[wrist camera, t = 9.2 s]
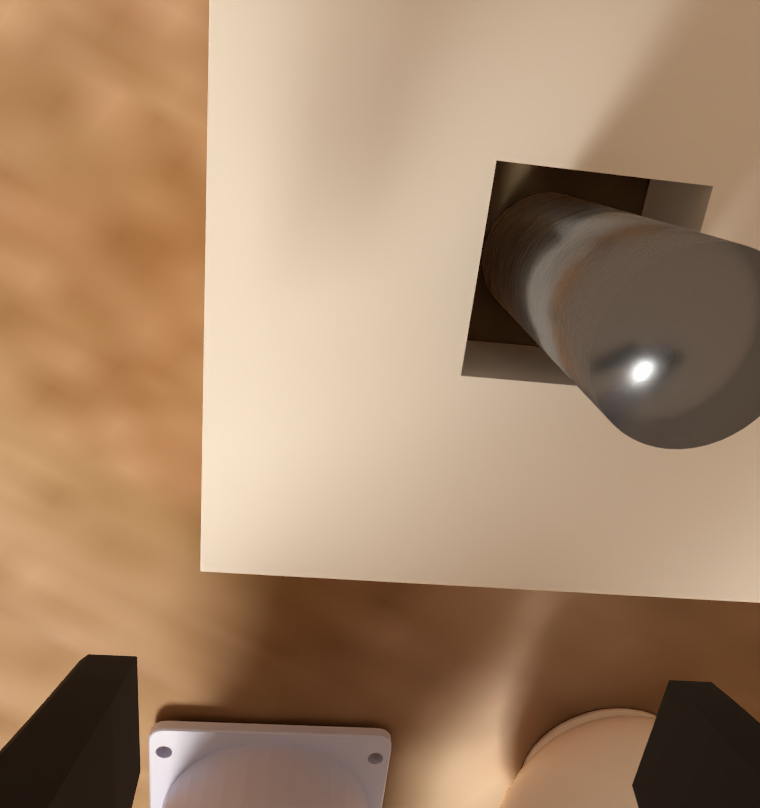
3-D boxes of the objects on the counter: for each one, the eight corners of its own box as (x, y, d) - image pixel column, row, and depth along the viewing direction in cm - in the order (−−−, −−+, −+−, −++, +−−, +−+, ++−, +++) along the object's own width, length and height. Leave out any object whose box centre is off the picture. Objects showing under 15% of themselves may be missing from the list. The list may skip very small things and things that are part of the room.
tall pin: (589, 323, 18) (764, 456, 11) (472, 311, 18) (569, 440, 10) (618, 199, 17) (836, 254, 10) (493, 185, 17) (619, 229, 9)
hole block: (739, 542, 21) (799, 604, 18) (219, 508, 20) (200, 571, 17) (957, -60, 15) (1096, -102, 12) (238, -177, 14) (213, -254, 11)
